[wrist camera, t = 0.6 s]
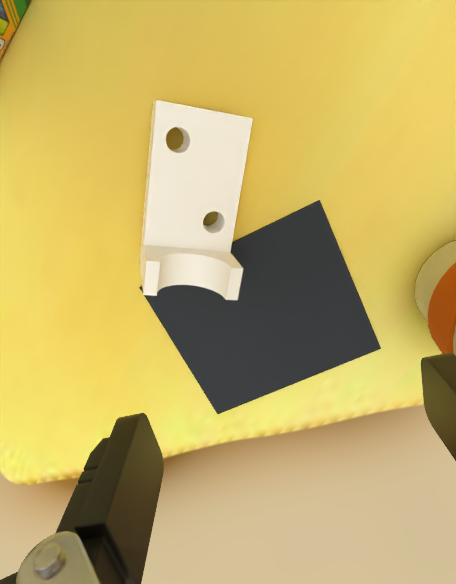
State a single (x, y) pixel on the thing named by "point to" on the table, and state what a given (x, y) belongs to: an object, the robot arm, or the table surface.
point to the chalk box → (10, 20)
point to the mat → (270, 314)
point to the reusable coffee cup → (439, 296)
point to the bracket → (193, 200)
